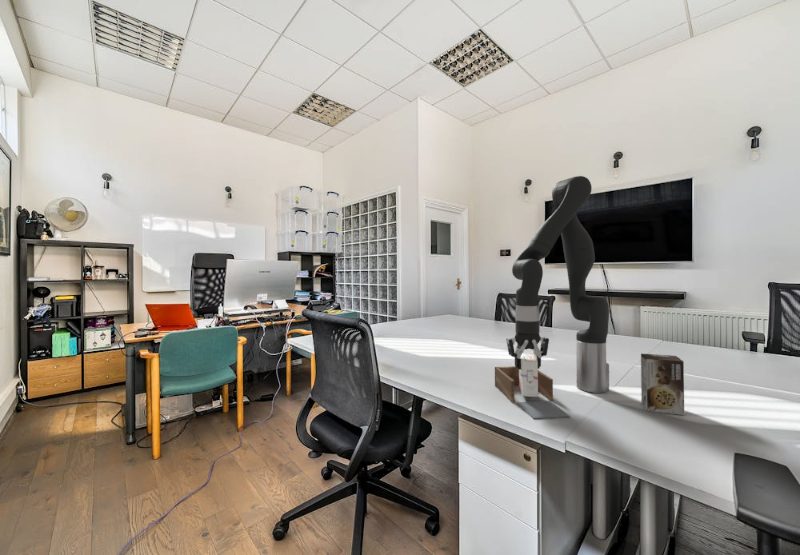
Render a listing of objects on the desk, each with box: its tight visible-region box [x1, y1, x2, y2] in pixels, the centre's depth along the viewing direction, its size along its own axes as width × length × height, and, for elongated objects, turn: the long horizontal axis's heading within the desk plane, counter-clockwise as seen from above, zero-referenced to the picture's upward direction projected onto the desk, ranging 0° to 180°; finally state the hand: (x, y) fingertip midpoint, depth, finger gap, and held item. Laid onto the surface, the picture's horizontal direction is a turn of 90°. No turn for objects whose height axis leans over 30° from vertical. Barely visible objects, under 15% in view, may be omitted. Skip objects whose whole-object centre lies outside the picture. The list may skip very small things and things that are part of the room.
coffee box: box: [640, 353, 685, 416], centre depth 97 cm, size 9×6×16 cm
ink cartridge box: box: [518, 349, 539, 398], centre depth 107 cm, size 9×5×15 cm, turn 168°
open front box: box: [494, 365, 554, 403], centre depth 112 cm, size 14×15×7 cm
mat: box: [516, 400, 571, 420], centre depth 98 cm, size 11×11×1 cm
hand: (527, 368), depth 107 cm, fingers closed on ink cartridge box, 5 cm apart
